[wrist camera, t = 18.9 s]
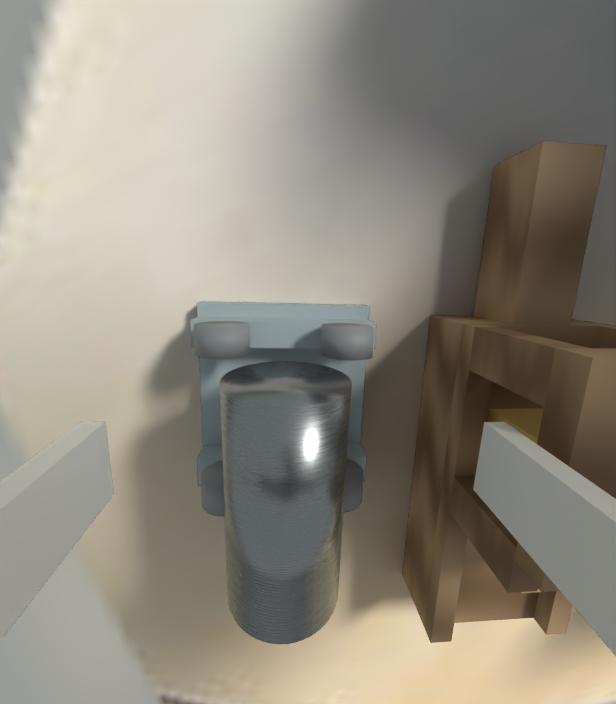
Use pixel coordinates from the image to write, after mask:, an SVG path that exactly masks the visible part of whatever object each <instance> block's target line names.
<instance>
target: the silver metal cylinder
mask: <svg viewBox="0 0 616 704" xmlns="http://www.w3.org/2000/svg"><path fill="white" fill-rule="evenodd" d="M351 390H352V382H351V380H350V378H349V377H348V376H347V375H346V374H344V373H342V372H341V371H339V370H336V369H334V368H331V367H327V366H324V365H319V364H314V363H306V362H295V361H274V362H262V363H255V364H250V365H246V366H242V367H239V368H236V369H234V370H231V371H230V372H228V373H226V374H225V375H224V376H223V377H222V378H221V380H220V405H221V431H222V457H223V482H224V508H225V534H226V559H227V585H228V602H229V607H230V610H231V613H232V615H233V617H234V619H235V621H236V622H237V624H238V625H239V626H240V627H241V628H242V629H243V630H244V631H245V632H246V633H248V634H249V635H251V636H252V637H254V638H256V639H258V640H261V641H263V642H267V643H272V644H289V643H294V642H298V641H301V640H303V639H306V638H308V637H309V636H311V635H313V634H314V633H316V632H317V631H318V630H319V629H321V628H322V627H323V626H324V625H325V623H326V622H327V621H328V620H329V618H330V616H331V615H332V613H333V611H334V608H335V606H336V602H337V597H338V585H339V570H340V555H341V540H342V525H343V510H344V495H345V480H346V465H347V450H348V435H349V420H350V405H351Z"/></svg>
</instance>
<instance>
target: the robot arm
mask: <svg viewBox="0 0 616 704" xmlns="http://www.w3.org/2000/svg"><path fill="white" fill-rule="evenodd" d="M473 490H474V491H475V492H476V493H477V494H478V496H479V497H480V498H481V499H482V500H483V501H484V503H485V504H486V505H487V506H488V507H489V508H490V510H491V511H492V512H493V513H494V514H495V515H496V517H497V518H498V519H499V520H500V521H501V522H502V524H503V525H504V526H505V527H506V528H507V529H508V531H509V532H510V533H511V534H512V535H513V537H514V538H515V539H516V540H517V541H518V542H519V544H520V545H521V546H522V547H523V548H524V549H525V551H526V552H527V553H528V554H529V555H530V556H531V558H532V559H533V560H534V561H535V562H536V563H537V565H538V566H539V567H540V568H541V569H542V570H543V572H544V573H545V574H546V575H547V576H548V577H549V579H550V580H551V581H552V582H553V583H554V584H555V586H556V587H557V588H558V589H559V590H560V592H561V593H562V594H563V595H564V596H565V597H566V599H567V600H568V601H569V602H570V603H571V604H572V606H573V607H574V608H575V609H576V610H577V611H578V613H579V614H580V615H581V616H582V617H583V618H584V620H585V621H586V622H587V623H588V624H589V625H590V627H591V628H592V629H593V630H594V631H595V632H596V634H597V635H598V636H599V637H600V638H601V639H602V641H603V642H604V643H605V644H606V645H607V647H608V648H609V649H610V650H611V651H612V652H613V654H614V655H615V656H616V499H615V498H614V497H612V496H611V495H609V494H608V493H606V492H605V491H604V490H602V489H601V488H599V487H598V486H596V485H595V484H593V483H592V482H591V481H589V480H588V479H586V478H585V477H583V476H582V475H581V474H579V473H578V472H576V471H575V470H573V469H572V468H570V467H569V466H568V465H566V464H565V463H563V462H562V461H560V460H559V459H557V458H556V457H555V456H553V455H552V454H550V453H549V452H547V451H546V450H544V449H543V448H542V447H540V446H539V445H537V444H536V443H534V442H533V441H531V440H530V439H529V438H527V437H526V436H524V435H523V434H521V433H520V432H518V431H517V430H516V429H514V428H513V427H511V426H510V425H508V424H507V423H505V422H484V427H483V433H482V439H481V445H480V451H479V457H478V463H477V469H476V475H475V481H474V487H473ZM113 495H114V490H113V482H112V474H111V465H110V457H109V449H108V440H107V432H106V424H105V422H80V423H79V424H77V425H76V426H75V427H73V428H72V429H71V430H69V431H68V432H67V433H65V434H64V435H62V436H61V437H60V438H58V439H57V440H56V441H54V442H53V443H52V444H50V445H49V446H48V447H46V448H45V449H43V450H42V451H41V452H39V453H38V454H37V455H35V456H34V457H33V458H31V459H30V460H29V461H27V462H26V463H24V464H23V465H22V466H20V467H19V468H18V469H16V470H15V471H14V472H12V473H11V474H10V475H8V476H7V477H5V478H4V479H3V480H1V481H0V641H1V640H2V639H3V637H4V636H5V635H6V633H7V632H8V631H9V629H10V628H11V627H12V626H13V624H14V623H15V622H16V620H17V619H18V618H19V617H20V615H21V614H22V612H23V611H24V610H25V609H26V607H27V606H28V605H29V604H30V602H31V601H32V600H33V598H34V597H35V596H36V595H37V593H38V592H39V591H40V589H41V588H42V586H43V585H44V584H45V583H46V582H47V580H48V579H49V578H50V576H51V575H52V574H53V572H54V571H55V570H56V568H57V567H58V566H59V565H60V563H61V562H62V560H63V559H64V558H65V557H66V556H67V554H68V553H69V552H70V550H71V549H72V548H73V547H74V545H75V544H76V543H77V541H78V540H79V539H80V537H81V536H82V535H83V534H84V532H85V531H86V530H87V528H88V527H89V526H90V524H91V523H92V522H93V521H94V519H95V518H96V517H97V515H98V514H99V513H100V512H101V510H102V509H103V508H104V506H105V505H106V504H107V502H108V501H109V500H110V499H111V497H112V496H113Z"/></svg>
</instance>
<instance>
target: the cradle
mask: <svg viewBox="0 0 616 704" xmlns="http://www.w3.org/2000/svg"><path fill="white" fill-rule="evenodd" d="M190 330H191V347H195V355H196V356H197V357H199V363H200V386H201V409H202V432H203V447H202V450H201V452H200V454H199V456H198V459H197V475H198V486H201V489H202V506H203V508H204V510H205V511H206V512H207V513H209V514H211V515H215V516H225V508H224V482H223V457H222V431H221V405H220V380H221V378H222V377H223V376H224V375H225V374H226V373H228V372H230V371H231V370H234V369H236V368H239V367H242V366H246V365H250V364H255V363H262V362H274V361H295V362H306V363H314V364H319V365H324V366H327V367H331V368H334V369H336V370H339V371H341V372H342V373H344V374H346V375H347V376H348V377H349V378H350V380H351V382H352V390H351V405H350V420H349V435H348V450H347V465H346V480H345V495H344V510H343V512H349V511H352V510H354V509H356V508H357V507H359V505H360V504H361V502H362V490H363V482H365V472H366V459H367V457H366V455H365V453H364V451H363V448H362V446H361V444H360V438H361V423H362V409H363V394H364V380H365V365H366V359H370V358H371V357H372V353H373V349H375V338H376V323H374V322H372V321H370V320H369V306H366V305H342V304H297V303H253V302H208V301H201V302H198V303H197V317H196V318H194V319H192V320H190Z"/></svg>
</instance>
